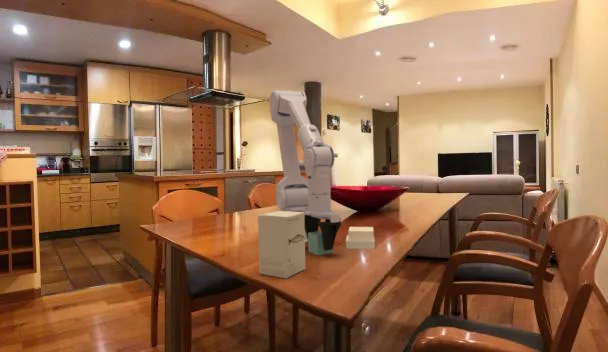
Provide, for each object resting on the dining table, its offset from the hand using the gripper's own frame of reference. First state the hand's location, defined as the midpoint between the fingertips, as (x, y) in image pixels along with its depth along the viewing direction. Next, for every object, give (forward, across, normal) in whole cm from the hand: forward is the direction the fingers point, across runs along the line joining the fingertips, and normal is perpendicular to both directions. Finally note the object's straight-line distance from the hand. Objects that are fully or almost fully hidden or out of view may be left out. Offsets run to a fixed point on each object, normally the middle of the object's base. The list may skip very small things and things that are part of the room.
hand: (320, 246), depth 96 cm
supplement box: (+2, +9, -15) cm, 18 cm away
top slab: (0, 0, +13) cm, 13 cm away
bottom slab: (+2, 0, +13) cm, 13 cm away
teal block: (+2, 0, 0) cm, 2 cm away
